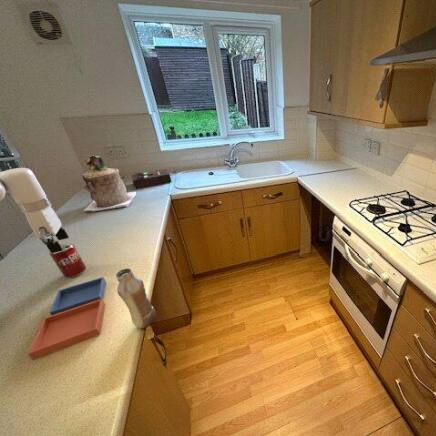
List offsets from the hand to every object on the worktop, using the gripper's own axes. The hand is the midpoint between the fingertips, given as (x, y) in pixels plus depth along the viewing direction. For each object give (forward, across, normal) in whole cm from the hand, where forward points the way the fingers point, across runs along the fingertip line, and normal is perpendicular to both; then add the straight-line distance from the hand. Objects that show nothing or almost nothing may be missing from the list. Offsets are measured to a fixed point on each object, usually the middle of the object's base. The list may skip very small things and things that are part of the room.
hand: (60, 245), depth 91 cm
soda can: (+13, 0, -1) cm, 13 cm away
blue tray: (+13, +19, +4) cm, 24 cm away
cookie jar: (+14, -75, +6) cm, 76 cm away
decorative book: (+14, -104, +31) cm, 109 cm away
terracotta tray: (+13, +33, +4) cm, 36 cm away
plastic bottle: (+14, +42, +24) cm, 51 cm away
